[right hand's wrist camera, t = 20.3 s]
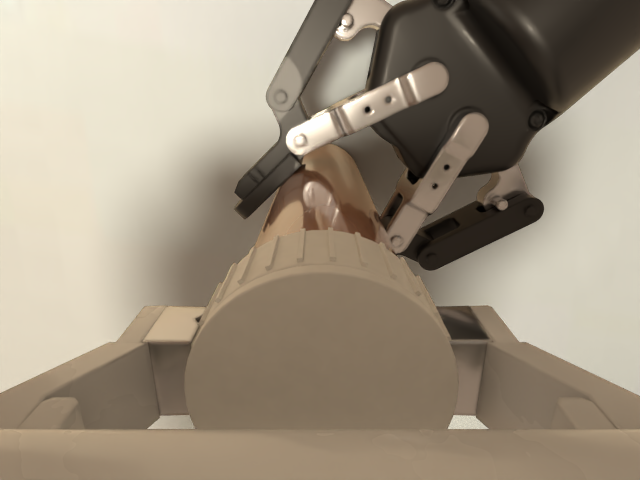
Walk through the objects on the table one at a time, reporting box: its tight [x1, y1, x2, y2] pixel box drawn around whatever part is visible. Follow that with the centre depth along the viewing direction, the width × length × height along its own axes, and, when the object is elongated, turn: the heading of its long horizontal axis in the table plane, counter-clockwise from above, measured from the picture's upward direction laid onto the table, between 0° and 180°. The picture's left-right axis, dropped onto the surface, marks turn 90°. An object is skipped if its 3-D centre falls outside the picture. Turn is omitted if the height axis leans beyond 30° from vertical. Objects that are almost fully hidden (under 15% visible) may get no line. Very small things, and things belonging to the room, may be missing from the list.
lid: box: [184, 227, 459, 429], centre depth 9 cm, size 5×5×2 cm
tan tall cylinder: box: [255, 143, 397, 256], centre depth 18 cm, size 5×5×18 cm
